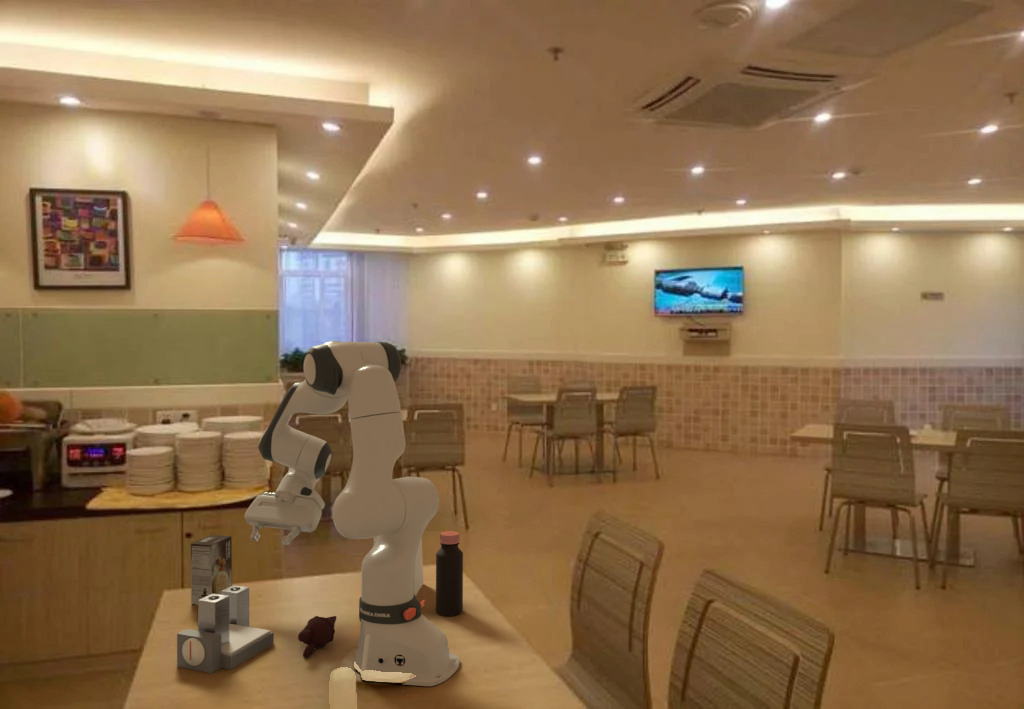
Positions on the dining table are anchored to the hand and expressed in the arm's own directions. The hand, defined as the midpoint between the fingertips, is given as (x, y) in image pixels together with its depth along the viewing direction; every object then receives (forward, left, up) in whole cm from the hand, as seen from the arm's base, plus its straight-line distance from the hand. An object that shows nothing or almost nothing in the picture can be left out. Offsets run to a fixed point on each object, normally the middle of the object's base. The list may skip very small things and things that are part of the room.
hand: (269, 541), depth 189 cm
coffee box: (+20, -2, -18) cm, 27 cm away
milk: (-22, -26, -18) cm, 39 cm away
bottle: (-42, -16, -18) cm, 49 cm away
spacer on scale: (-6, +27, -15) cm, 31 cm away
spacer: (0, +13, -18) cm, 22 cm away
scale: (-6, +24, -18) cm, 31 cm away
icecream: (-23, +13, -18) cm, 32 cm away
